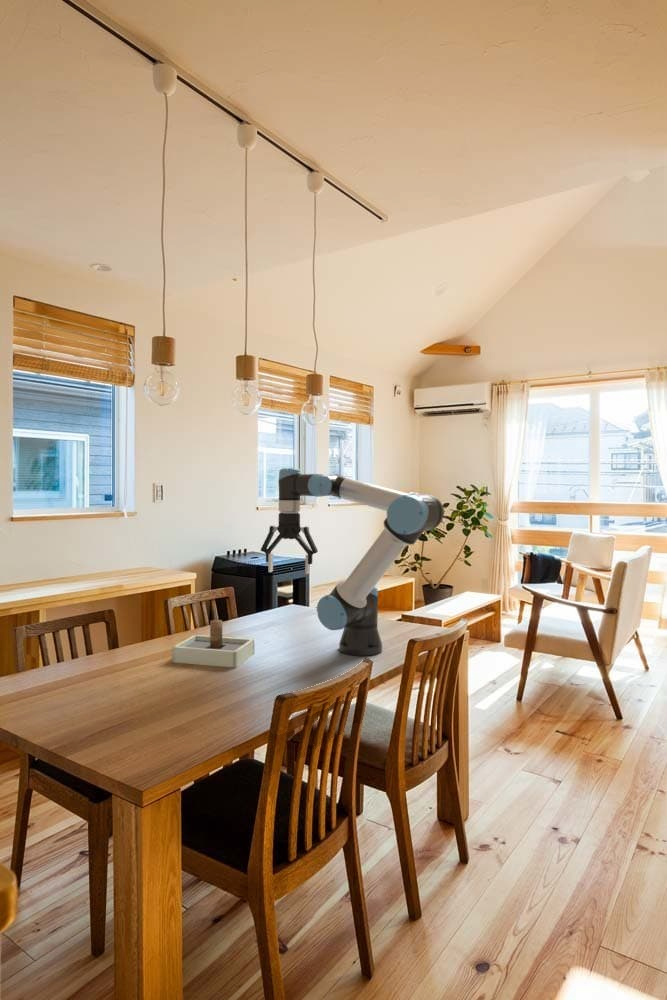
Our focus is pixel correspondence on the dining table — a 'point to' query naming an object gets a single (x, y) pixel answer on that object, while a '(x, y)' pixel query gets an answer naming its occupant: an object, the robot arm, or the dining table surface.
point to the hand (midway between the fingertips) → (288, 572)
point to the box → (213, 651)
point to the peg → (216, 634)
